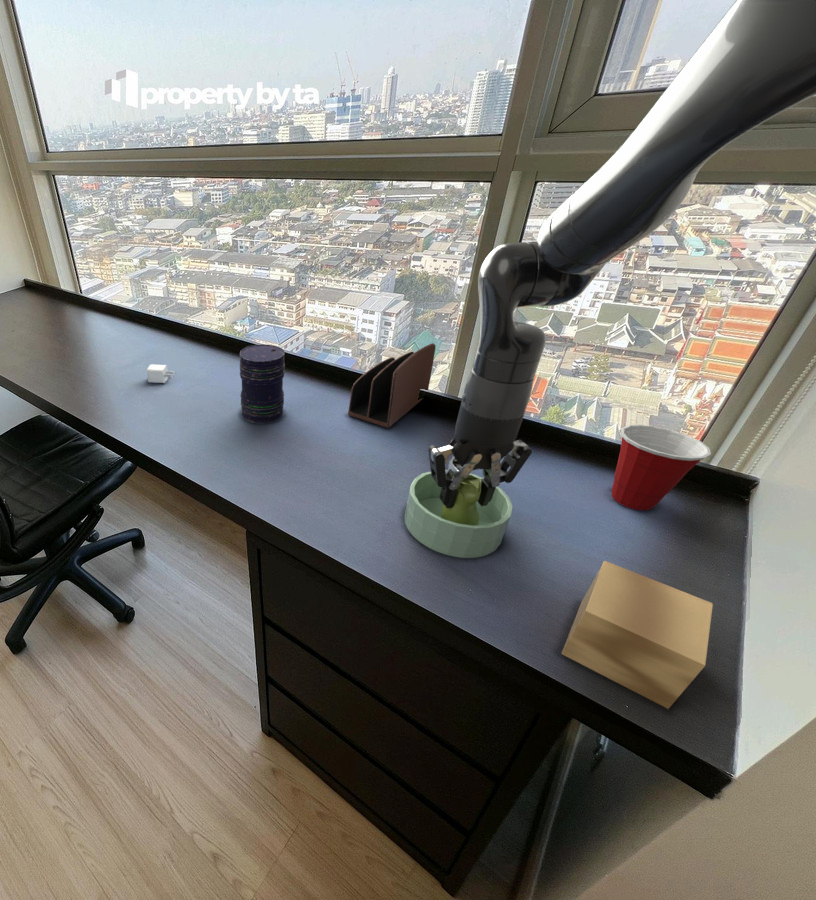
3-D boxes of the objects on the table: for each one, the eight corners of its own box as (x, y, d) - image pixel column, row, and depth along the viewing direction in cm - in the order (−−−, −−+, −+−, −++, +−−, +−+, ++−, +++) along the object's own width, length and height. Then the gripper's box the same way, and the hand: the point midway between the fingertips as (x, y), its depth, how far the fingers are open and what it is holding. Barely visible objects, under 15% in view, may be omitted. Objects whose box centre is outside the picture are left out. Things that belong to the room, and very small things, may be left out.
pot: (523, 542, 73) (535, 512, 70) (446, 569, 70) (455, 538, 66) (455, 489, 84) (463, 462, 81) (386, 510, 81) (391, 481, 78)
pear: (440, 514, 79) (453, 464, 73) (476, 523, 76) (492, 472, 71) (435, 535, 75) (448, 484, 69) (473, 545, 72) (490, 493, 67)
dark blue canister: (253, 427, 106) (252, 365, 98) (233, 409, 114) (231, 349, 106) (291, 416, 109) (293, 355, 101) (270, 399, 117) (270, 341, 109)
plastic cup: (682, 499, 79) (719, 437, 73) (665, 530, 74) (704, 466, 67) (604, 472, 86) (632, 413, 80) (583, 499, 81) (612, 438, 74)
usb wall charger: (153, 377, 132) (151, 363, 130) (177, 378, 131) (175, 364, 129) (148, 383, 129) (146, 369, 127) (173, 384, 128) (171, 370, 125)
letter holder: (427, 396, 114) (439, 339, 107) (388, 429, 103) (398, 368, 95) (388, 385, 120) (396, 330, 113) (347, 415, 108) (353, 357, 101)
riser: (679, 647, 58) (713, 603, 53) (668, 709, 52) (705, 665, 47) (581, 603, 64) (604, 560, 59) (561, 654, 58) (585, 610, 53)
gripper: (452, 421, 60) (426, 523, 70) (565, 413, 60) (525, 517, 70) (427, 394, 67) (407, 491, 76) (530, 387, 67) (497, 485, 76)
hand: (464, 503), depth 73 cm, fingers closed on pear, 4 cm apart
